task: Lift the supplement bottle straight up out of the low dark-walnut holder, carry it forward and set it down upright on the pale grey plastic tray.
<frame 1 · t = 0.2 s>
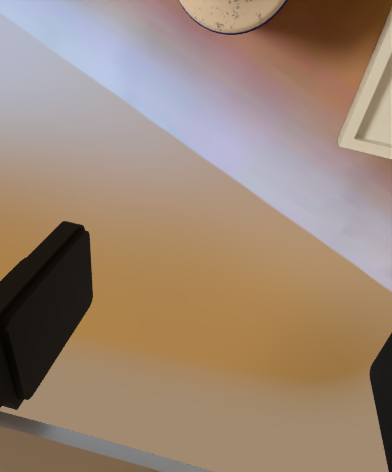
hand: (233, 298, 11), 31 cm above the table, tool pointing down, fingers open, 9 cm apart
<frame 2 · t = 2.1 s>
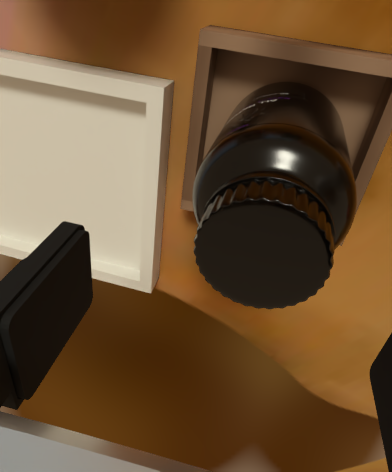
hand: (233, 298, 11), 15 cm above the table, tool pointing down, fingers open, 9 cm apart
tray: (64, 173, 28), on the table
holder: (281, 135, 23), on the table
supplement bottle: (281, 138, 22), resting on holder
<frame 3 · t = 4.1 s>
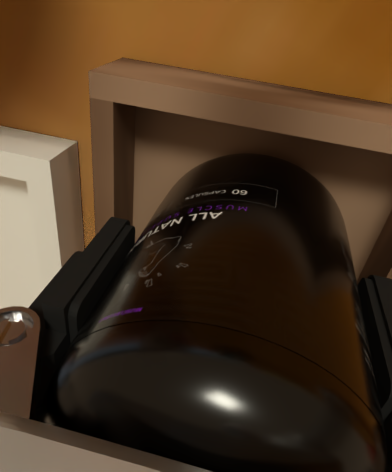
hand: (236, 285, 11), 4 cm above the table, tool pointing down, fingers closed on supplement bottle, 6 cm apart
holder: (247, 224, 15), on the table
supplement bottle: (247, 231, 14), resting on holder, touching gripper
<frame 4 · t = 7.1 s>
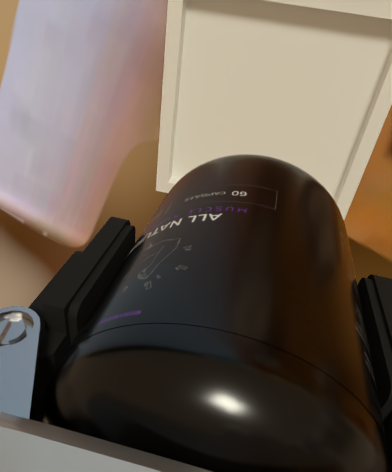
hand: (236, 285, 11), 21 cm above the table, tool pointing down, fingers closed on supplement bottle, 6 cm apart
tray: (268, 109, 29), on the table
supplement bottle: (247, 232, 14), point 18 cm above the table, touching gripper
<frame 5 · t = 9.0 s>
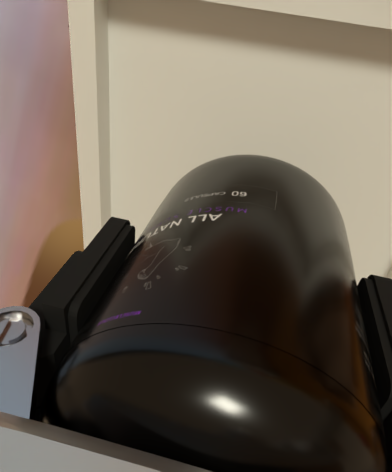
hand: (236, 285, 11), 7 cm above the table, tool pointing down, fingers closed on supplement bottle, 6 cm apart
tray: (257, 183, 18), on the table
supplement bottle: (247, 232, 14), point 4 cm above the table, touching gripper
when the fingers open (6 cm above the table, at t = 10.3 s): supplement bottle drops 2 cm, resting on tray.
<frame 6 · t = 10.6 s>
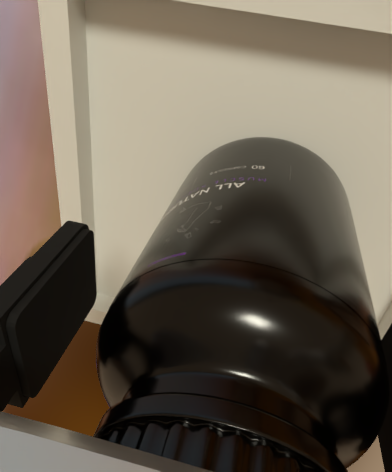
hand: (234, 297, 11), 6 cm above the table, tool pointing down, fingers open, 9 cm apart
tray: (251, 200, 16), on the table
supplement bottle: (259, 210, 16), point 1 cm above the table, touching tray
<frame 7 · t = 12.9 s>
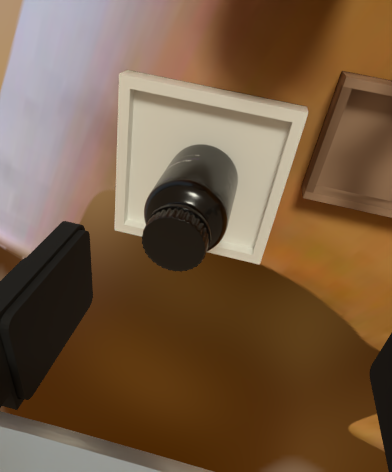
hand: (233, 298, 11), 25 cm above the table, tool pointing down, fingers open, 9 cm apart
tray: (201, 171, 37), on the table
holder: (379, 146, 32), on the table
supplement bottle: (203, 175, 36), point 1 cm above the table, touching tray
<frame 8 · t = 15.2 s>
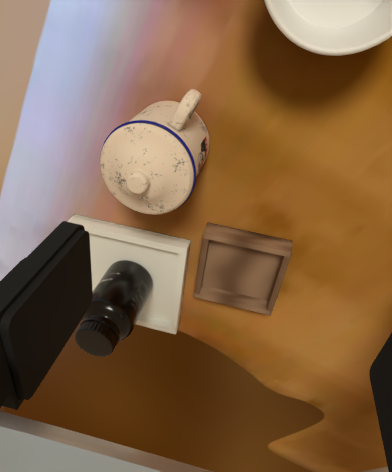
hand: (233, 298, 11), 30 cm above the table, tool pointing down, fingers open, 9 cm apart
tray: (130, 273, 53), on the table
holder: (241, 264, 48), on the table
supplement bottle: (131, 276, 53), point 1 cm above the table, touching tray
teacup with lid: (178, 128, 40), on the table
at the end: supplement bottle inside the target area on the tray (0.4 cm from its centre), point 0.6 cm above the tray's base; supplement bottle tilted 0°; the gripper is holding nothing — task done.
